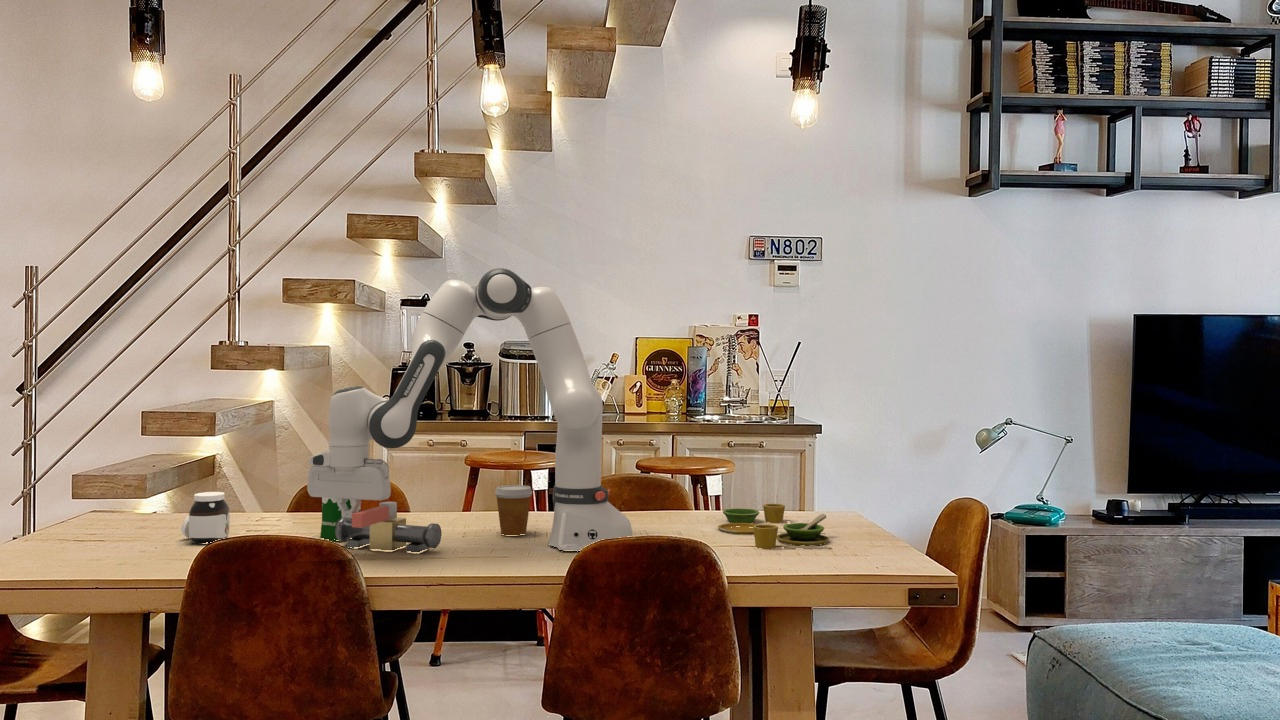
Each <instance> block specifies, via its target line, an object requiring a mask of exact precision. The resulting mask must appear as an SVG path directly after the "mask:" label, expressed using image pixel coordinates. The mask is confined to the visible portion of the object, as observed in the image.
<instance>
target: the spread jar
mask: <svg viewBox="0 0 1280 720" xmlns="http://www.w3.org/2000/svg"><path fill="white" fill-rule="evenodd" d="M225 498H226V497H225V492H224V491H223V492H222V491H204V492H198V493H194V495H193V501H194V502H193V504H192V505H191V508H190V510H189V514H188V515H187V516H186V517H185V519H184V520H183V521H182V522H181V523H182V524H181V527H180V528H181V529H180V530H181V534H182V535H183V536H184V537H187V538H188V539H190V541H191V542H192V543H194V542H195V543H206V542H208V543H210V542H213V541H215V540H218V539H223V538H228V537H229V534H230V526H231V525H230V524H231V523H230V518H231V517H230V513H231V512H230V507H229V504H228V503H227V501H226V500H225ZM189 537H190V538H189ZM195 543H194V544H195Z"/></svg>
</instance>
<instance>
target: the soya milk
mask: <svg viewBox="0 0 1280 720" xmlns="http://www.w3.org/2000/svg"><path fill="white" fill-rule="evenodd" d="M346 505H347V507H348V509H349V510H351V507H352V505H353V504H351V499H348V501H347V502H346ZM360 511H361V505H360V506H359V508H358V510H357V512H360ZM340 518H342V512H341V510H340V508H339V506H338V504H337V498H325V497H321V523H320V524H321V525H320V536H319V539H320V538H324V539H329V540H333V541H332V542H335V541H336V540H338V539H337V538H336V535H335V527H336V524H337V522H338V520H339V519H340ZM351 520H352V519H351ZM334 539H335V540H334ZM336 543H338V542H337V541H336Z"/></svg>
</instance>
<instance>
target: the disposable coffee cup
mask: <svg viewBox="0 0 1280 720" xmlns="http://www.w3.org/2000/svg"><path fill="white" fill-rule="evenodd" d="M494 494H495V496H496V502H497V504H496V505H497V511H498V520H499V527H500V529H499V530H500V535H501V534H504V535H520V534H525V533H526V534H527V528H528V527H527V526H528V520H529V513H530V504H531V497H532V494H533V491H532V487H531V486H530V485H522V484H521V485H520V484H509V485H500V486H497V487H496V490H495V492H494Z"/></svg>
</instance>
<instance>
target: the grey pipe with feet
mask: <svg viewBox="0 0 1280 720" xmlns="http://www.w3.org/2000/svg"><path fill="white" fill-rule="evenodd" d="M335 535H336V538H337V539H338V540H339V541H344V542H346V547H347V546H348V547H349V548H350V547H352V548H354V547H360V546H363V545H366V544H369V543H370V546H369V550H370V549H381V550H395V549H397V548H400V547H403V546H406V548H405V550H406V551H411V552H420V551H422V550H425V549H428V548H429V549H437V548H438V547H439V545H440V543H441V541H442V527H441V526H440V524H438V523H435V522H434V523H433V522H431V523H429V524H428V525H427V526H426V525H425V526H424V525H412V524H411V525H410V524H407V517H406V518H405V517H397V518H395V519H389V520H385V521H382V522H379V523H376V524H372V525H369V526H366V527H362V528H357V527H352V520H351V519H349V518H340V519H339V520H338V522H337V524H336V527H335ZM350 538H352V539H350ZM406 551H405V552H406Z"/></svg>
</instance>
